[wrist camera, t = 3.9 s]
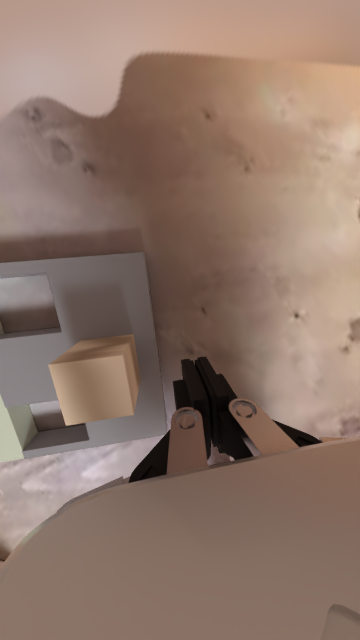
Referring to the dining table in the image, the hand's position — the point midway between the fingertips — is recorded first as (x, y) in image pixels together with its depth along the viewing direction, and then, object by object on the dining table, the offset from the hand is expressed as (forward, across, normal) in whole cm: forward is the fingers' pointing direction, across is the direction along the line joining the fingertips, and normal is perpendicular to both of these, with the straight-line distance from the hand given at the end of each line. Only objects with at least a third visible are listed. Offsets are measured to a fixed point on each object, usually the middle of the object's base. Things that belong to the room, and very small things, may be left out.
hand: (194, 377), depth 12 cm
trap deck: (+9, +14, +1) cm, 17 cm away
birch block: (+6, +7, +1) cm, 10 cm away
